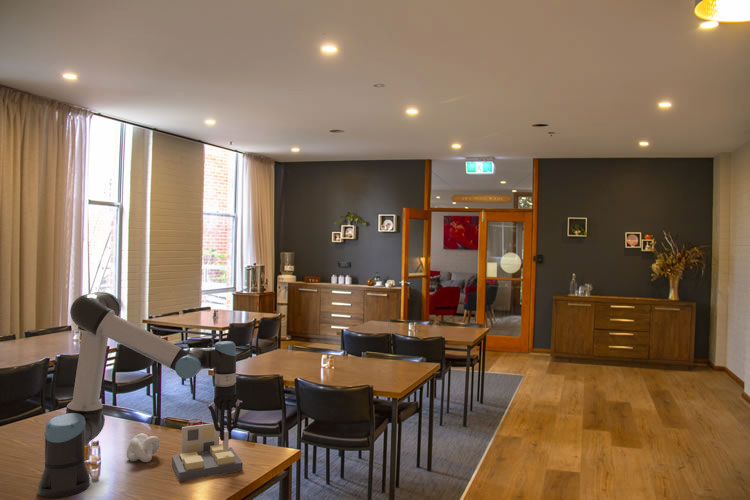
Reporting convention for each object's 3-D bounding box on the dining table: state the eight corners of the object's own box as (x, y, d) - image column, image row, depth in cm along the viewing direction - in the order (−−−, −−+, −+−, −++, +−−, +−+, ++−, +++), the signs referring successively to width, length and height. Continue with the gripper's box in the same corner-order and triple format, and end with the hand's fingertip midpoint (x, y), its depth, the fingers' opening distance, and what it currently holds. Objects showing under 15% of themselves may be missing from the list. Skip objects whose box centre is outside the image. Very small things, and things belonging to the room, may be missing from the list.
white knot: (117, 462, 212) (117, 438, 212) (140, 452, 223) (140, 429, 223) (141, 467, 208) (141, 442, 208) (163, 456, 219) (164, 433, 219)
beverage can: (197, 454, 222) (198, 423, 222) (183, 452, 223) (183, 422, 223) (205, 448, 228) (206, 418, 228) (191, 447, 229) (192, 417, 229)
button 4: (217, 467, 203) (218, 458, 203) (214, 461, 208) (214, 453, 208) (234, 464, 205) (234, 456, 205) (230, 459, 211) (231, 451, 211)
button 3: (212, 458, 211) (213, 450, 211) (209, 453, 216) (209, 445, 216) (229, 456, 213) (229, 448, 213) (225, 451, 219) (225, 443, 219)
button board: (179, 481, 195) (179, 446, 195) (170, 460, 215) (170, 428, 215) (242, 470, 205) (242, 437, 205) (228, 451, 225) (229, 421, 225)
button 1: (182, 467, 206) (182, 459, 206) (179, 462, 211) (179, 453, 211) (199, 464, 208) (199, 456, 208) (196, 459, 214) (196, 451, 214)
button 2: (185, 472, 198) (186, 463, 198) (183, 466, 203) (183, 458, 203) (203, 469, 200) (203, 460, 200) (200, 463, 206) (200, 455, 206)
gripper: (209, 388, 201) (209, 454, 200) (245, 384, 206) (245, 449, 206) (205, 384, 207) (205, 448, 207) (240, 380, 213) (240, 443, 213)
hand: (225, 448), depth 207 cm, fingers closed
